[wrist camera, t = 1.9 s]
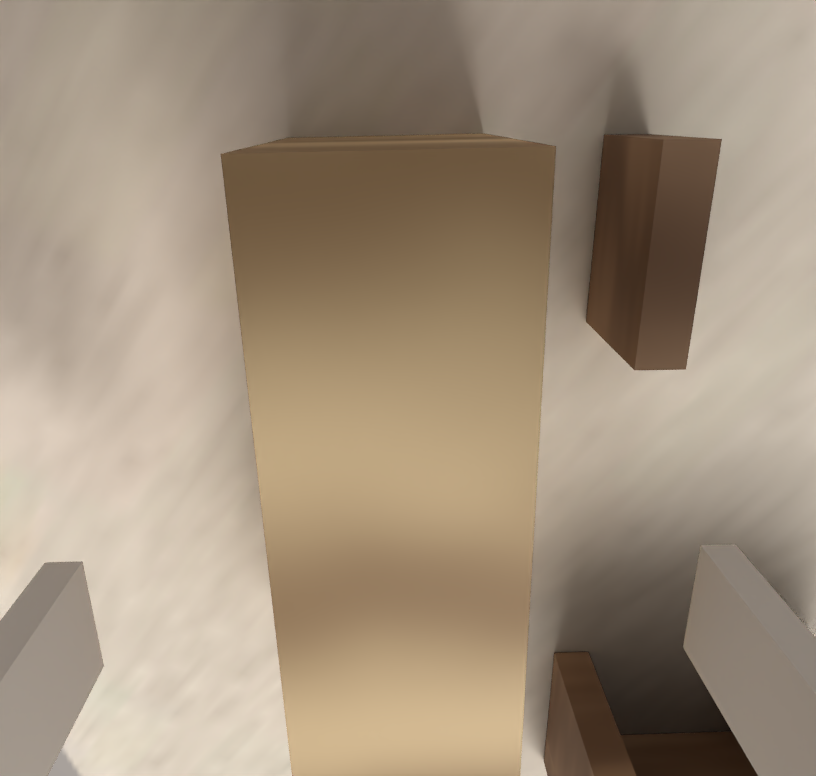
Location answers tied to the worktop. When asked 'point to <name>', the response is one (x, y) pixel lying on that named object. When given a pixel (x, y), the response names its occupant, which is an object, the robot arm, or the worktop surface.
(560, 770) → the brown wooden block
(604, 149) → the pair of brown blocks
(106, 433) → the worktop surface
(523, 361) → the light wooden block
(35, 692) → the robot arm
